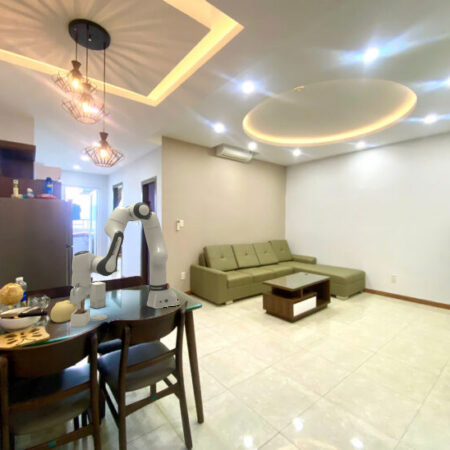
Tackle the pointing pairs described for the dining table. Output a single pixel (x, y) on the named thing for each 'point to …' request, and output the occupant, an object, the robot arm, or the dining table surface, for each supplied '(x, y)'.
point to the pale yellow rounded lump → (62, 311)
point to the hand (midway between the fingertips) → (80, 307)
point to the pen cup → (80, 318)
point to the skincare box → (98, 295)
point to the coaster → (98, 317)
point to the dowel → (81, 311)
